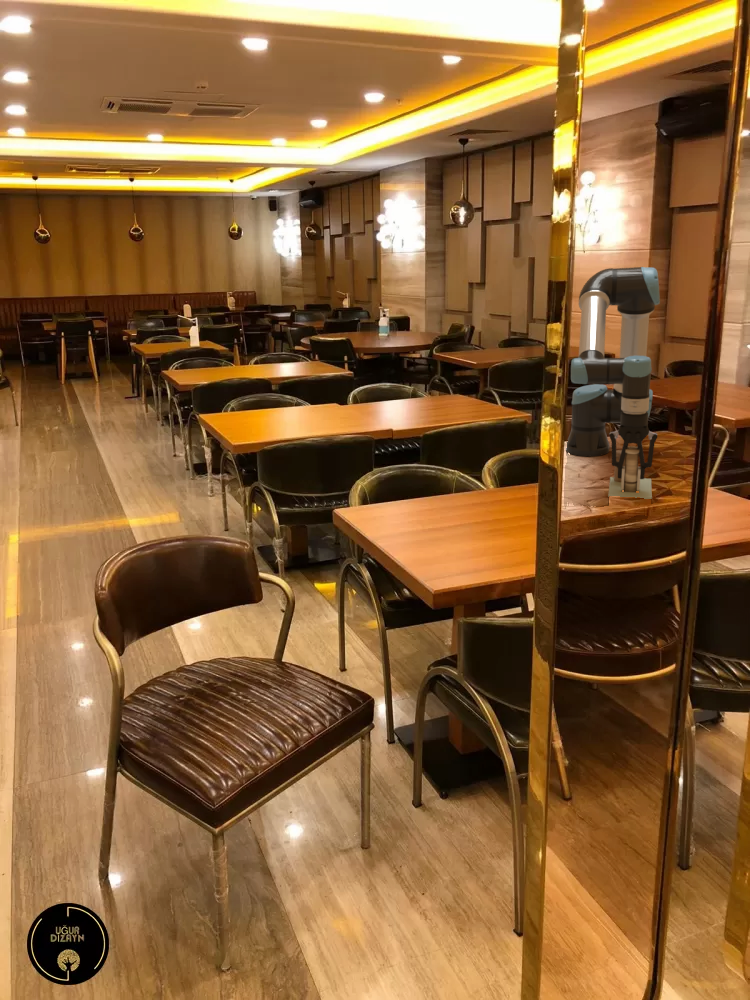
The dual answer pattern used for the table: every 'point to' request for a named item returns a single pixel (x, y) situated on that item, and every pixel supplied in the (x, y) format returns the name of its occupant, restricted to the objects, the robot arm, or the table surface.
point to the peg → (631, 469)
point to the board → (615, 490)
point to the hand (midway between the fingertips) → (630, 488)
